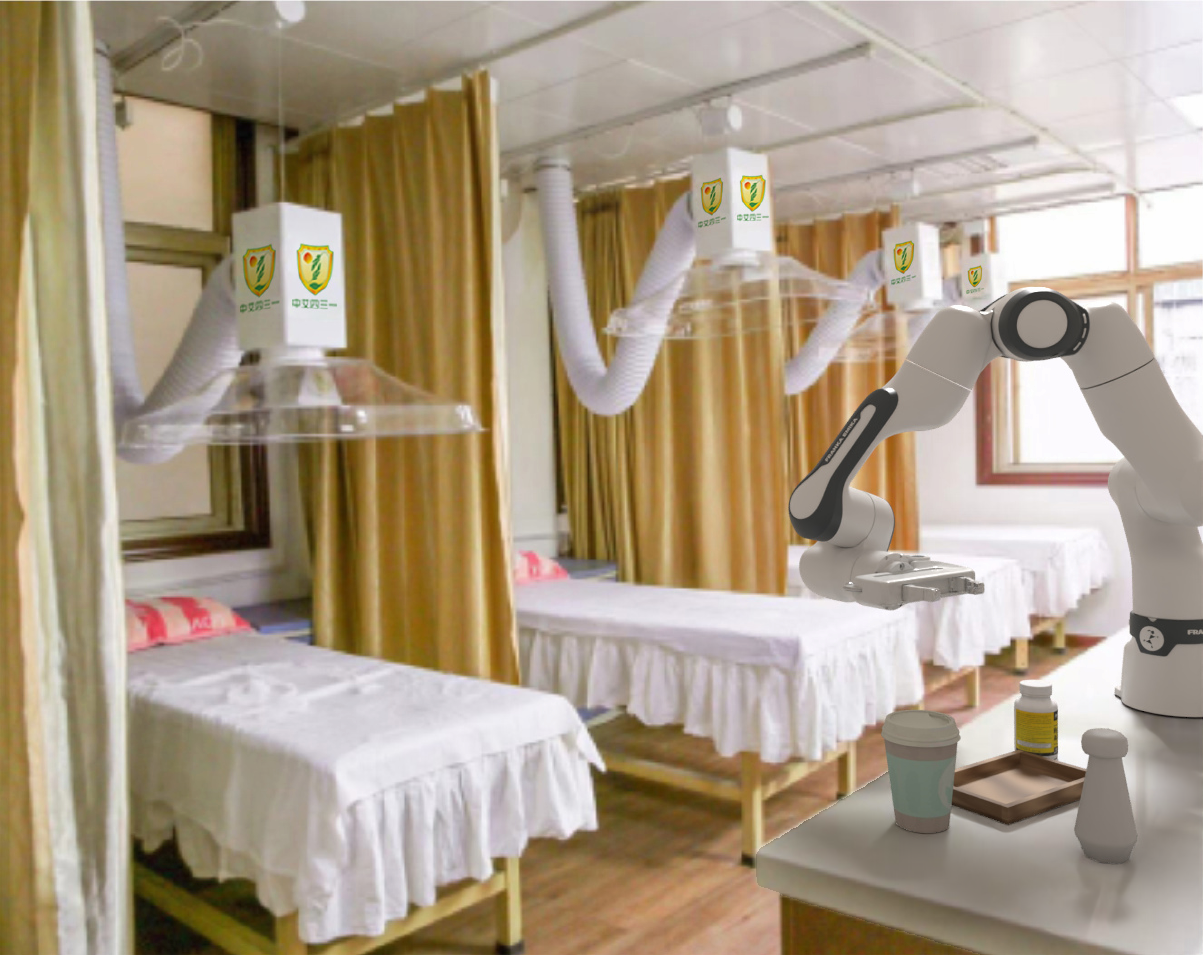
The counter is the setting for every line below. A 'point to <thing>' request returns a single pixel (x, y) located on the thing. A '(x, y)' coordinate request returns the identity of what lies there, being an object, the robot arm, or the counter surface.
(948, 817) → the coffee cup
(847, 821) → the counter surface
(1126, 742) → the salt shaker
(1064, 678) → the counter surface
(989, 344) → the robot arm
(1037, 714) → the supplement bottle
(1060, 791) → the tray
